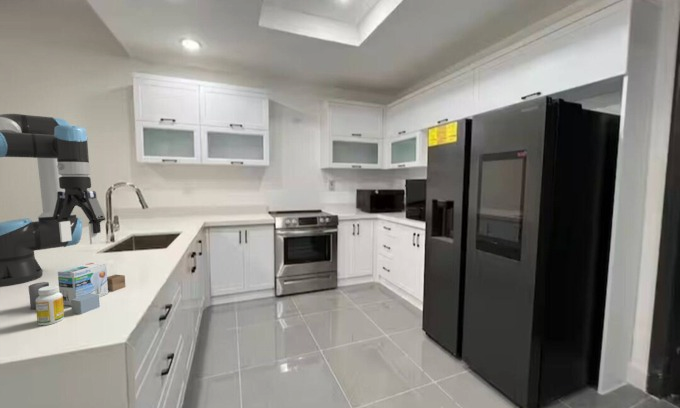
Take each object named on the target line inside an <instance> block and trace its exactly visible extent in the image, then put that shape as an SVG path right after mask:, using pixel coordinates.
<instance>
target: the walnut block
mask: <svg viewBox="0 0 680 408" xmlns="http://www.w3.org/2000/svg"><path fill="white" fill-rule="evenodd" d="M107 284H108V292H117V291H119V290H121V289H123V288H126V276H125V275H123V274H112V275H110V276H107Z"/></svg>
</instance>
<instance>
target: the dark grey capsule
mask: <svg viewBox="0 0 680 408" xmlns="http://www.w3.org/2000/svg"><path fill="white" fill-rule="evenodd" d="M46 286H50V283H49V281H43V282H42V281H41V282H37V283H33V284H30V285H29V286H28V295H29V296H28V297H29V304H30V305H29V306H30V310H31V311H32V310H33V311H35V310H36V298H37V297H39V296H40V295H39V294H38V290H39V289H40V288H42V287H46Z"/></svg>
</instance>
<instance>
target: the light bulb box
mask: <svg viewBox="0 0 680 408" xmlns="http://www.w3.org/2000/svg"><path fill="white" fill-rule="evenodd" d="M107 277H108V270H107V263H103V262H102V263H101V262H100V263H99V262H88V263H85V264H80V265H77V266H74V267H69V268H65V269H63V270H59V271H57V279H58V287H59V291H58V292H59V293H61V294H62V295H63V306H71V307H72V305H71V300H72V299H74V298H77V297H80V296H83V295H86V294H89V293H91V294H97V295H99V298H100V297H104V296H106V295H108V294H109V291H108V284H107Z"/></svg>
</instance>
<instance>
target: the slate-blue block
mask: <svg viewBox="0 0 680 408" xmlns="http://www.w3.org/2000/svg"><path fill="white" fill-rule="evenodd" d="M71 305H72V306H71ZM71 305H70V306H71V313H74V314H78V315H83V314H86V313H89V312H91V311H93V310H95V309H98V308H100V306H101V305H100V297H99V295H97V294H91V293H89V294H86V295H83V296H80V297H77V298H74V299H72V300H71Z"/></svg>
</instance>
